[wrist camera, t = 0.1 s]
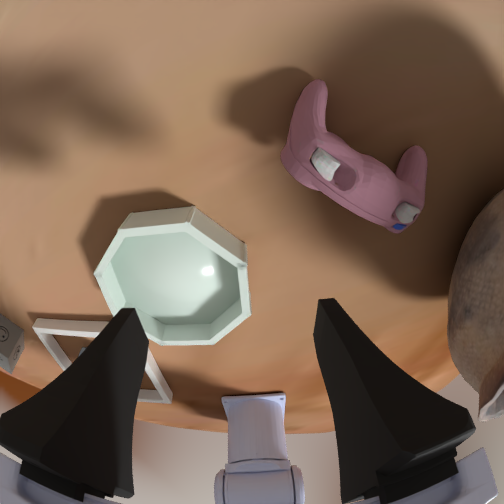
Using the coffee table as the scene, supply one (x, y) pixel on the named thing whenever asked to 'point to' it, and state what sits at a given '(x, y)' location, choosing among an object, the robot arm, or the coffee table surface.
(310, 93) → the video game controller
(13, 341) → the dice cube
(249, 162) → the coffee table surface
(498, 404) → the ceramic bowl
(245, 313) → the ceramic dish
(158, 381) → the white flat frame piece
